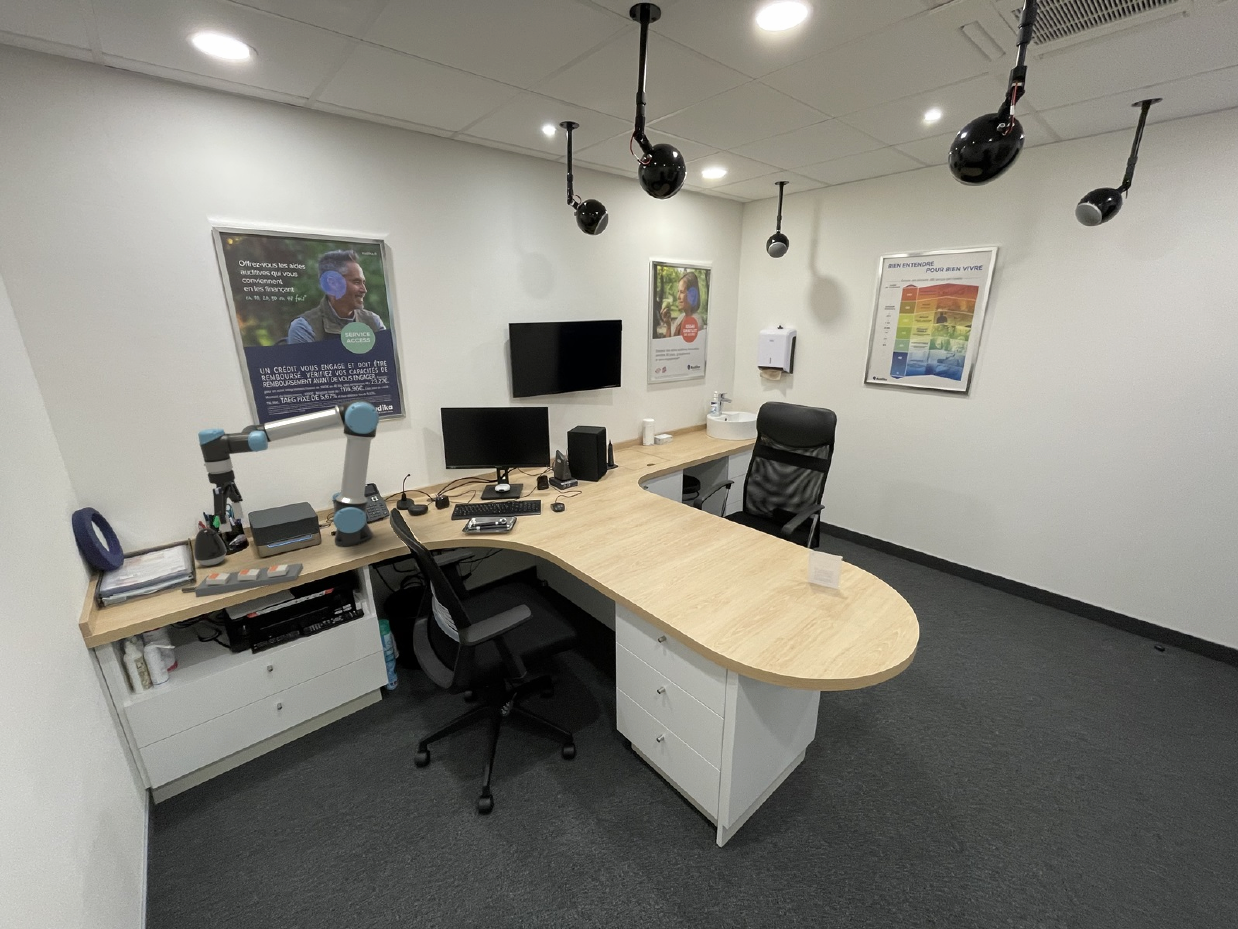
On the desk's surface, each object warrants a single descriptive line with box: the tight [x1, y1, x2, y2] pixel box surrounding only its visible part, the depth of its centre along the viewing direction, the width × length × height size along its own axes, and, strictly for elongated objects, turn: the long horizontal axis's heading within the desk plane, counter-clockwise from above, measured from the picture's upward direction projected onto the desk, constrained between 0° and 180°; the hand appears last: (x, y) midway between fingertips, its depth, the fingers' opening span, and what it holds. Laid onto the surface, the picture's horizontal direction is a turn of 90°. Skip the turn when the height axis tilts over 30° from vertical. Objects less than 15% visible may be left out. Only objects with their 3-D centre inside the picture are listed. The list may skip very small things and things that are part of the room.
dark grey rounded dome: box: [193, 527, 228, 567], centre depth 199 cm, size 10×10×15 cm
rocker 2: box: [238, 568, 261, 580], centre depth 182 cm, size 6×5×2 cm
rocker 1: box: [206, 572, 231, 584], centre depth 179 cm, size 6×5×2 cm
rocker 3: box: [267, 564, 289, 577], centre depth 185 cm, size 6×5×2 cm
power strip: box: [181, 562, 304, 598], centre depth 184 cm, size 37×11×3 cm, turn 110°
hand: (233, 524), depth 185 cm, fingers open, 13 cm apart
